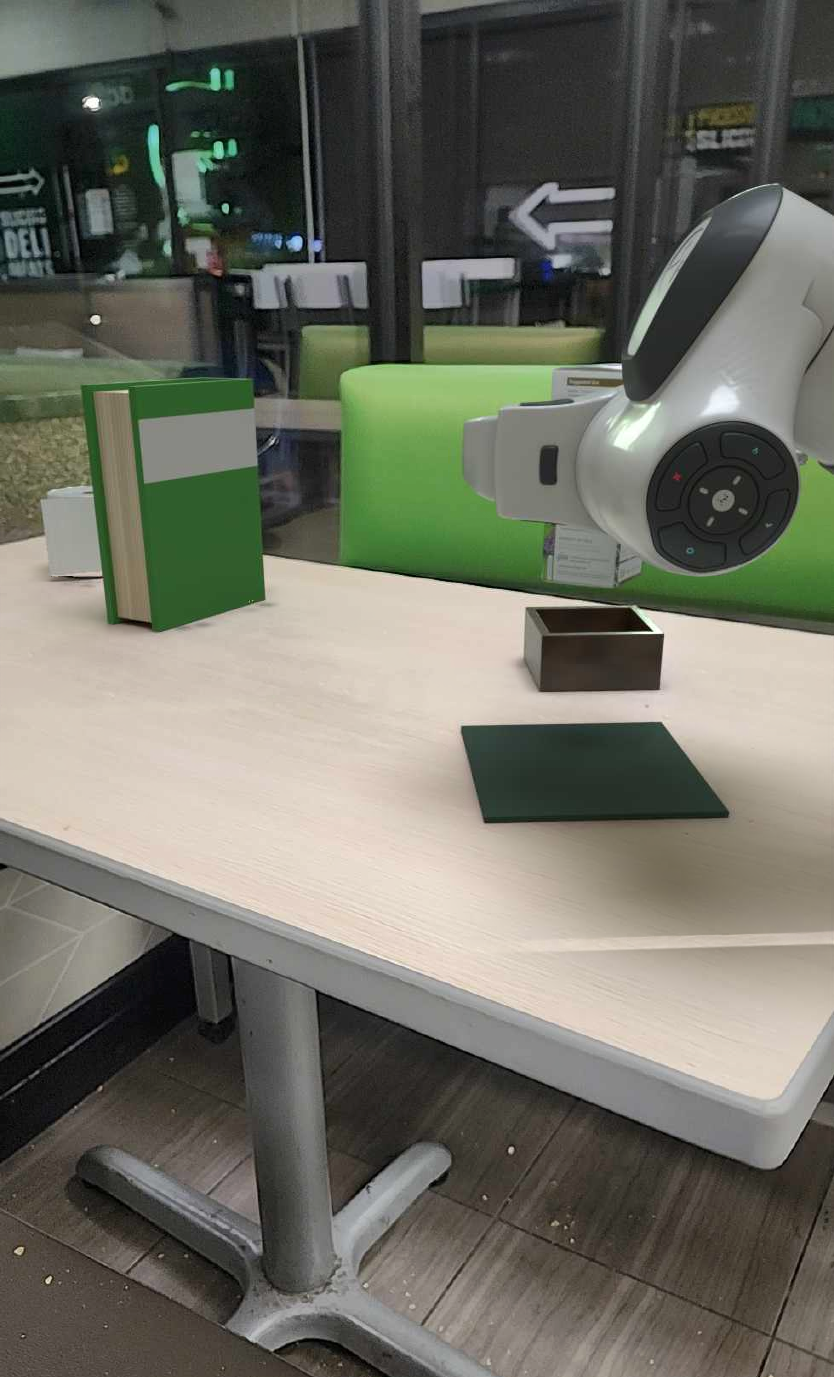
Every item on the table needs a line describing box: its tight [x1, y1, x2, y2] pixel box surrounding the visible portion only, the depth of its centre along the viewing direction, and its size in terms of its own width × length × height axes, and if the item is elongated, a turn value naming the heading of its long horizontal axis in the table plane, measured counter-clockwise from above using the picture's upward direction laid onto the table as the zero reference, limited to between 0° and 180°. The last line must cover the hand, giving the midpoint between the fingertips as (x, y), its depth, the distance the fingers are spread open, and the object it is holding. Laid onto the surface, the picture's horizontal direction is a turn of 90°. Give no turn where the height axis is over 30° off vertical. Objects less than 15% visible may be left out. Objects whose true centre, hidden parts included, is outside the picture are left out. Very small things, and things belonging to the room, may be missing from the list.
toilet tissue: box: [39, 485, 103, 578], centre depth 145 cm, size 11×12×10 cm
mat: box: [460, 721, 730, 823], centre depth 81 cm, size 16×18×1 cm
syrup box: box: [540, 363, 645, 589], centre depth 79 cm, size 6×6×14 cm
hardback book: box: [80, 376, 266, 633], centre depth 122 cm, size 18×7×24 cm, turn 148°
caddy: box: [523, 604, 665, 692], centre depth 102 cm, size 11×11×5 cm
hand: (599, 440), depth 79 cm, fingers closed on syrup box, 8 cm apart
